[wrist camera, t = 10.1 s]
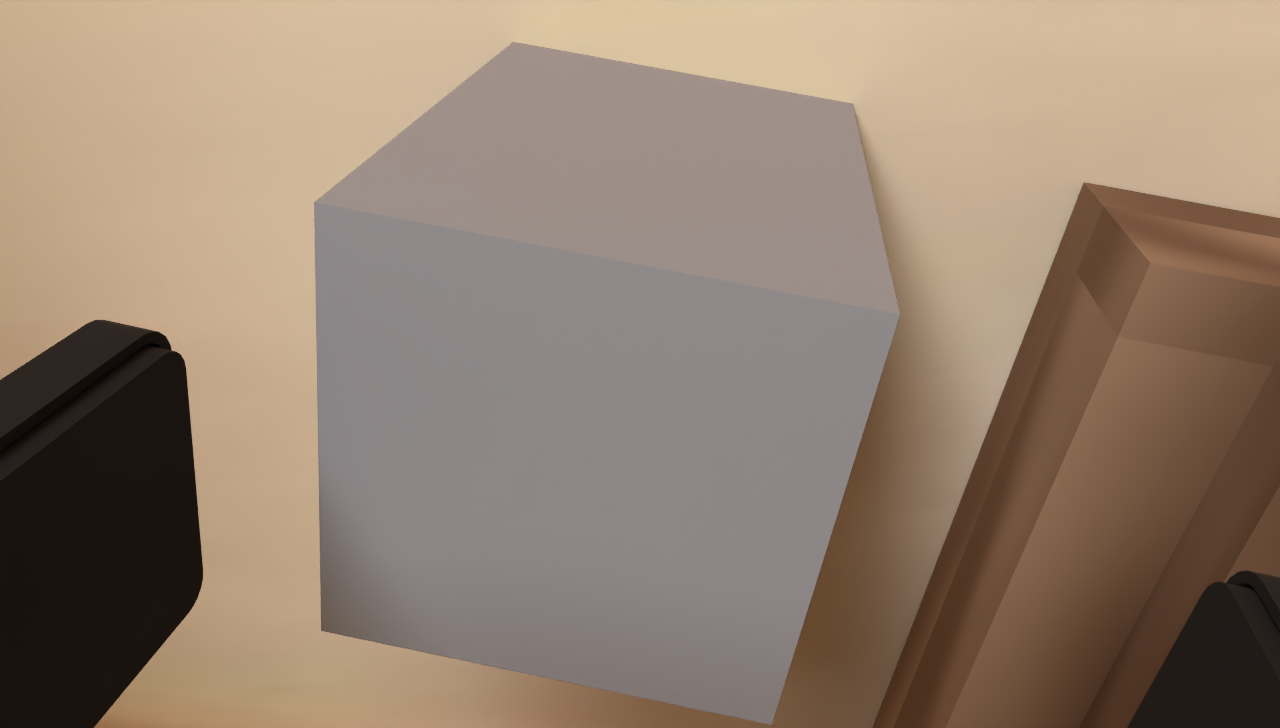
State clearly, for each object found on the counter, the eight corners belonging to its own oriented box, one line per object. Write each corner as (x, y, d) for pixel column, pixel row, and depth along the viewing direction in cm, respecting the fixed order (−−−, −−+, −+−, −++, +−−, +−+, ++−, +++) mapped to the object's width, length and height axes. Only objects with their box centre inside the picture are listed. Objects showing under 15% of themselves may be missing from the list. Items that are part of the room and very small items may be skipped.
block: (489, 339, 17) (321, 630, 11) (513, 41, 14) (313, 203, 8) (778, 395, 17) (772, 725, 11) (852, 103, 14) (900, 314, 8)
